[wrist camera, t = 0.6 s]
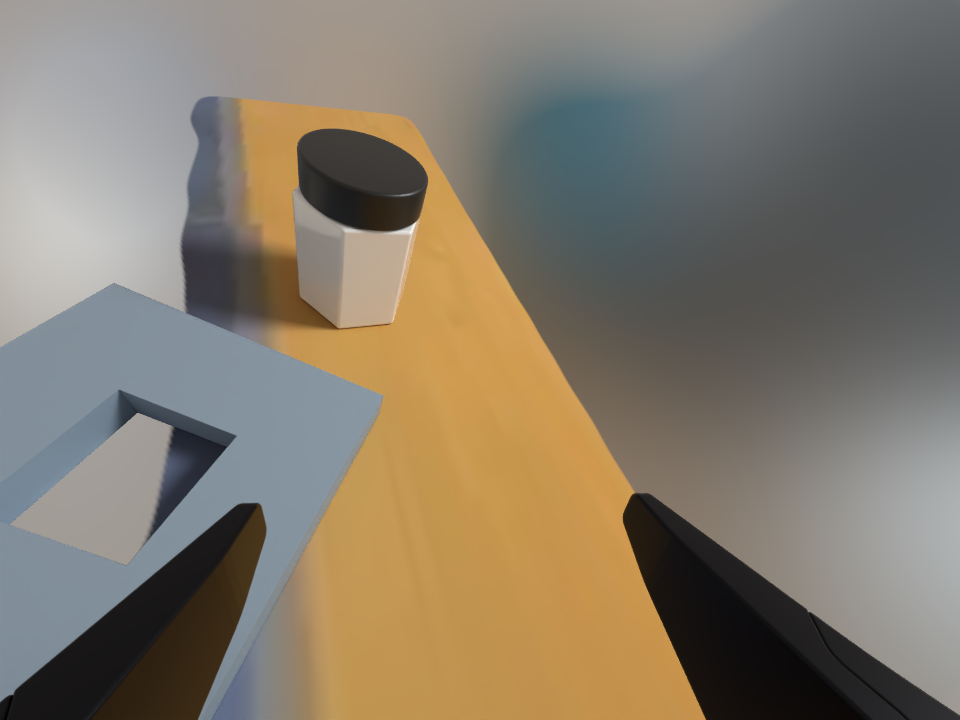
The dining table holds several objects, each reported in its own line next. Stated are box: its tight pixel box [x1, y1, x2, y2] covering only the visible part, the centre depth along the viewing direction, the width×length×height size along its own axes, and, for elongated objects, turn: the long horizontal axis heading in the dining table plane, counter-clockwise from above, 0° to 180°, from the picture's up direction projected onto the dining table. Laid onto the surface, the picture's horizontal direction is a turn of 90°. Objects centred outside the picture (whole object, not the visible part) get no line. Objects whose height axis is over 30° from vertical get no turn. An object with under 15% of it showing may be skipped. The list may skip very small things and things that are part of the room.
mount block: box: [0, 283, 383, 720], centre depth 17 cm, size 18×18×2 cm
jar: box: [293, 129, 428, 329], centre depth 27 cm, size 9×8×12 cm
